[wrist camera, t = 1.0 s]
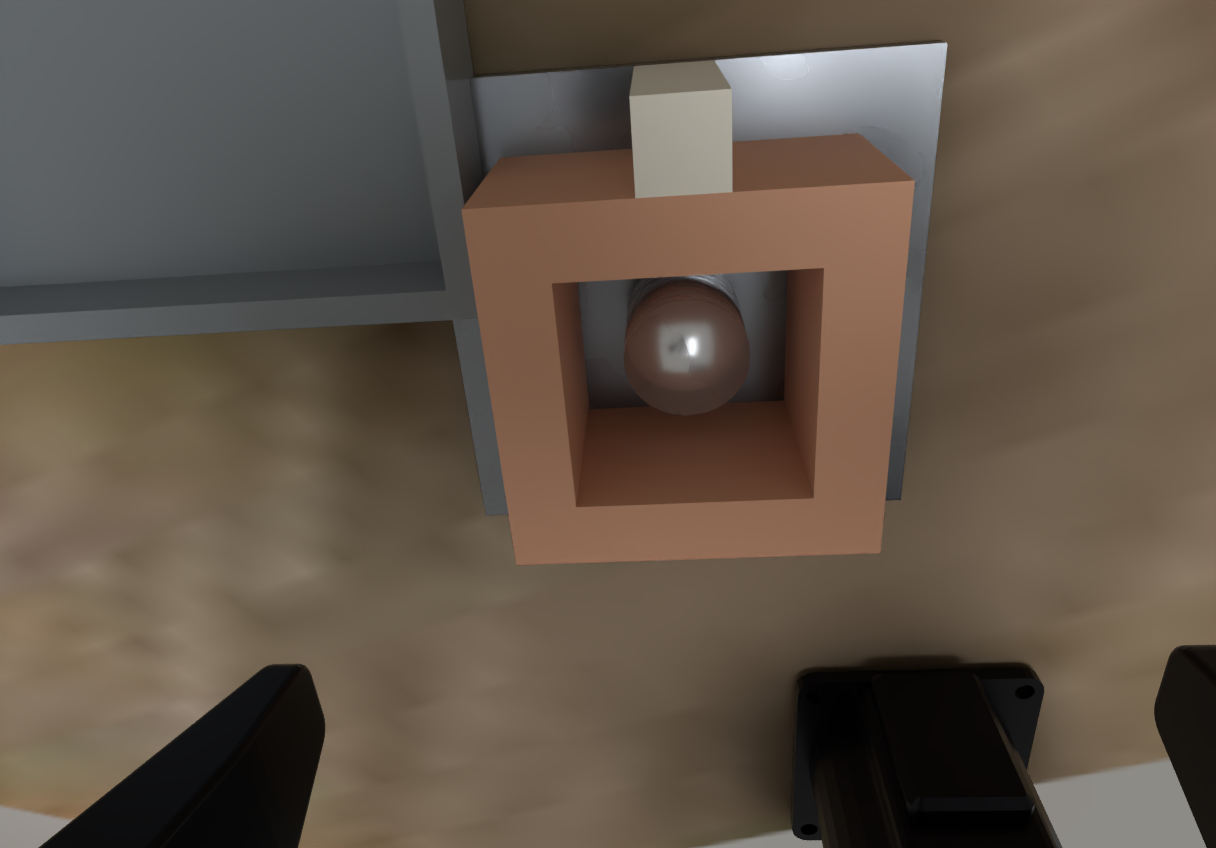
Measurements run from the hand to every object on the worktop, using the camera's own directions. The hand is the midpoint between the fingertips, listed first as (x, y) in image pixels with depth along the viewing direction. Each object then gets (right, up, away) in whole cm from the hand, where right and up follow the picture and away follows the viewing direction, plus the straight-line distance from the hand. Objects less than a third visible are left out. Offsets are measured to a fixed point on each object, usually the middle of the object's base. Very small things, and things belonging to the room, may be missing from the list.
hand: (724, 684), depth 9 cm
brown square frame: (0, +5, +9) cm, 11 cm away
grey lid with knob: (0, +5, +10) cm, 11 cm away
